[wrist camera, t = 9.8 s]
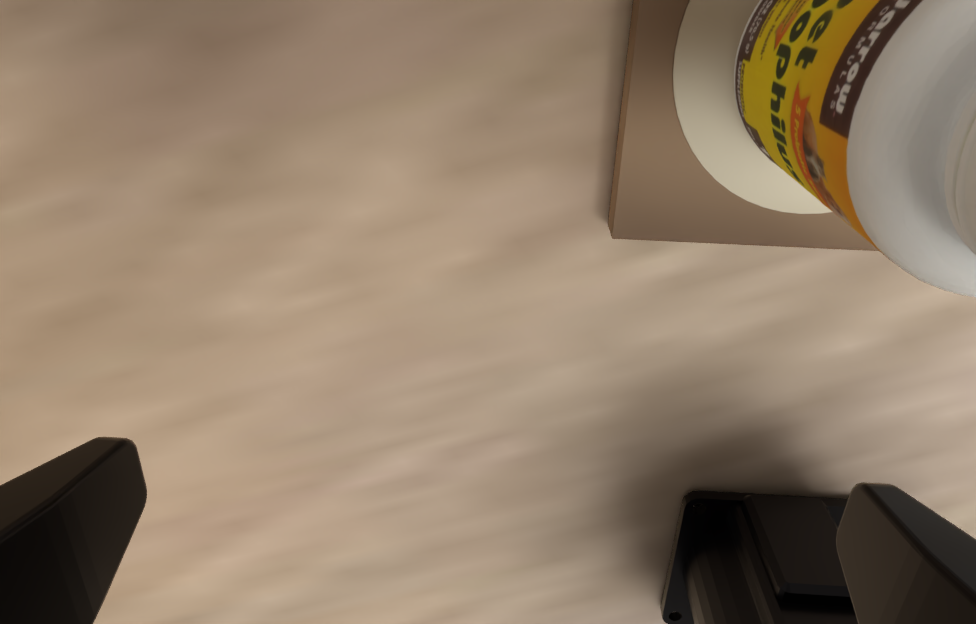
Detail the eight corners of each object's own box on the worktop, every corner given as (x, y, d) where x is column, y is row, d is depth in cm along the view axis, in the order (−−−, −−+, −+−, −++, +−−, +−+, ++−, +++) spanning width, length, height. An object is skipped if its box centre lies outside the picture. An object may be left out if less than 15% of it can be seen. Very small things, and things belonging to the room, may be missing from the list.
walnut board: (950, 239, 20) (975, 256, 19) (607, 224, 21) (612, 239, 20) (1096, -173, 16) (1141, -184, 15) (654, -185, 16) (663, -195, 15)
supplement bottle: (745, -68, 16) (1035, -114, 7) (995, -68, 16) (1641, -114, 7) (709, 171, 18) (887, 373, 9) (924, 175, 18) (1323, 386, 9)
